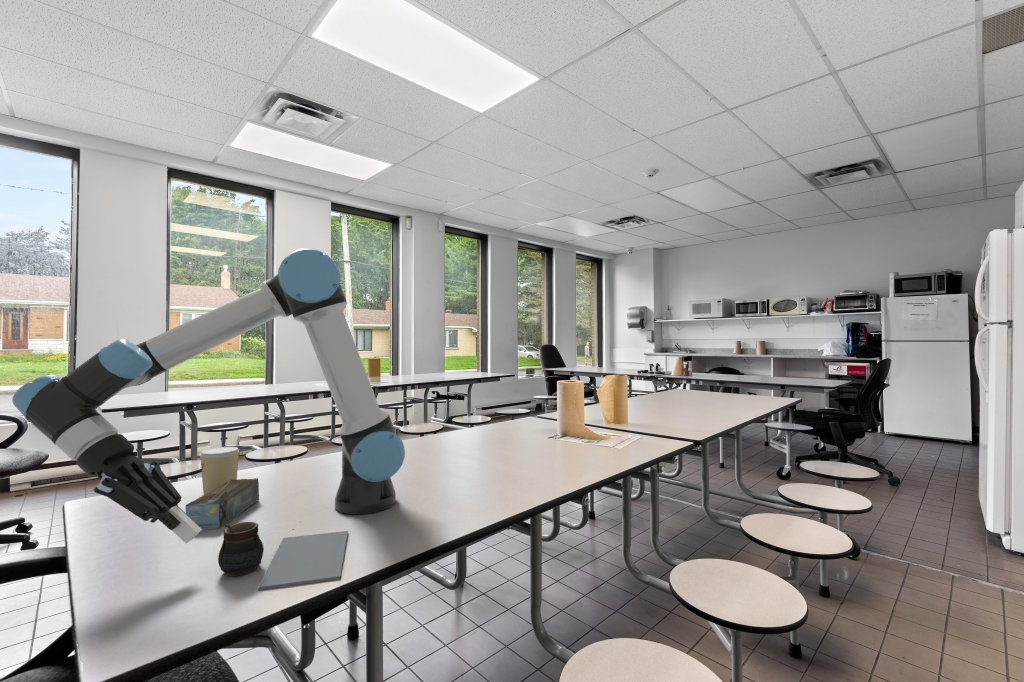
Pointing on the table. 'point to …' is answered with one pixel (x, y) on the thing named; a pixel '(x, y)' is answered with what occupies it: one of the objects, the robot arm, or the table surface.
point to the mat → (306, 560)
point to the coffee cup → (218, 467)
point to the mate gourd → (240, 549)
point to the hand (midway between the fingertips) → (194, 536)
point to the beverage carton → (223, 503)
